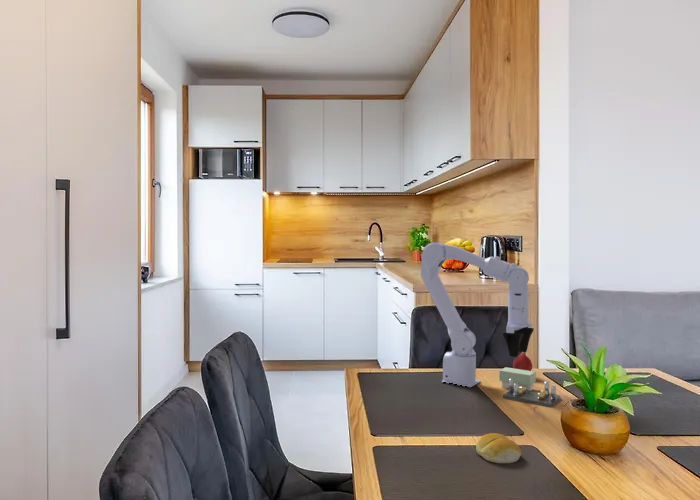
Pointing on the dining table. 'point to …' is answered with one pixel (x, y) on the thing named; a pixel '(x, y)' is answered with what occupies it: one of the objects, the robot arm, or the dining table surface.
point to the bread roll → (498, 448)
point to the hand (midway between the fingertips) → (518, 354)
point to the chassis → (532, 394)
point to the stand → (506, 385)
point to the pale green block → (517, 376)
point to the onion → (522, 362)
